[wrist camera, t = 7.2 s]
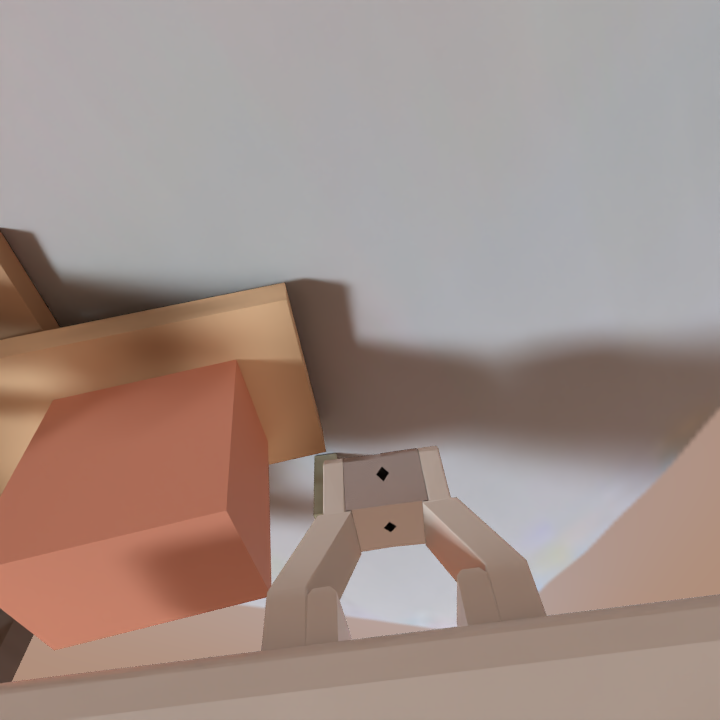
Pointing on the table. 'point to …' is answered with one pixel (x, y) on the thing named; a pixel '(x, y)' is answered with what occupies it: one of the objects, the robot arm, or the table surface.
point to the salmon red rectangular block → (138, 508)
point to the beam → (166, 365)
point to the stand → (31, 315)
